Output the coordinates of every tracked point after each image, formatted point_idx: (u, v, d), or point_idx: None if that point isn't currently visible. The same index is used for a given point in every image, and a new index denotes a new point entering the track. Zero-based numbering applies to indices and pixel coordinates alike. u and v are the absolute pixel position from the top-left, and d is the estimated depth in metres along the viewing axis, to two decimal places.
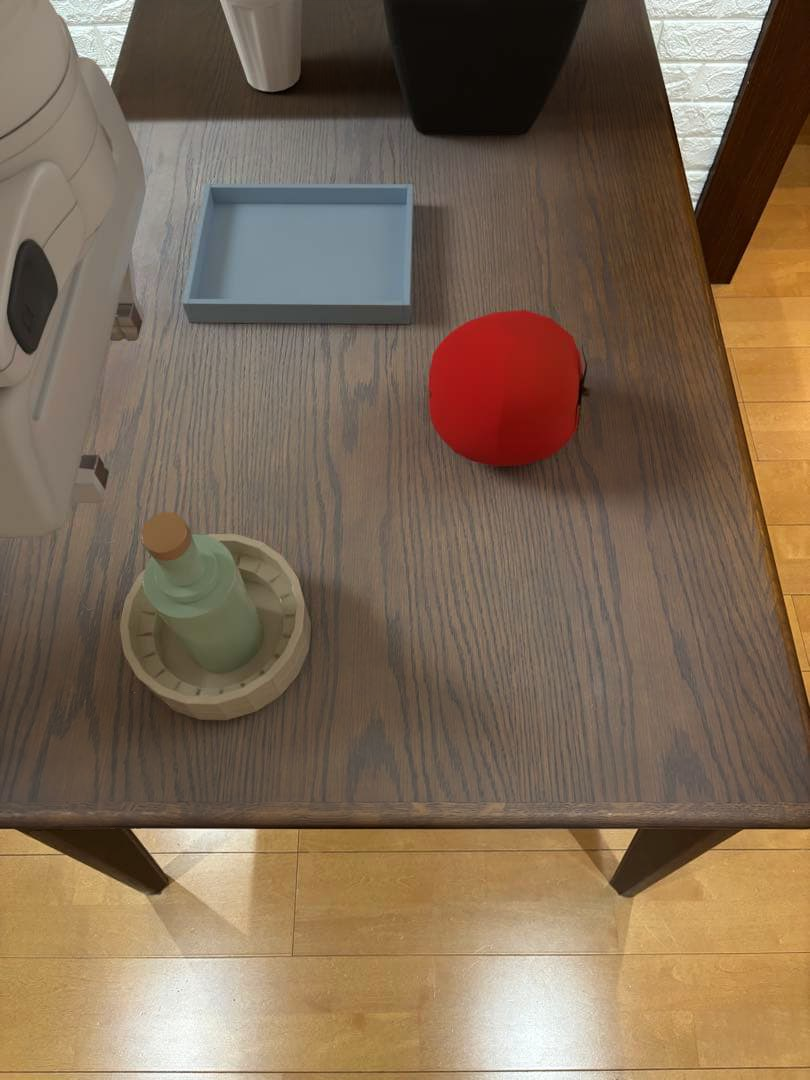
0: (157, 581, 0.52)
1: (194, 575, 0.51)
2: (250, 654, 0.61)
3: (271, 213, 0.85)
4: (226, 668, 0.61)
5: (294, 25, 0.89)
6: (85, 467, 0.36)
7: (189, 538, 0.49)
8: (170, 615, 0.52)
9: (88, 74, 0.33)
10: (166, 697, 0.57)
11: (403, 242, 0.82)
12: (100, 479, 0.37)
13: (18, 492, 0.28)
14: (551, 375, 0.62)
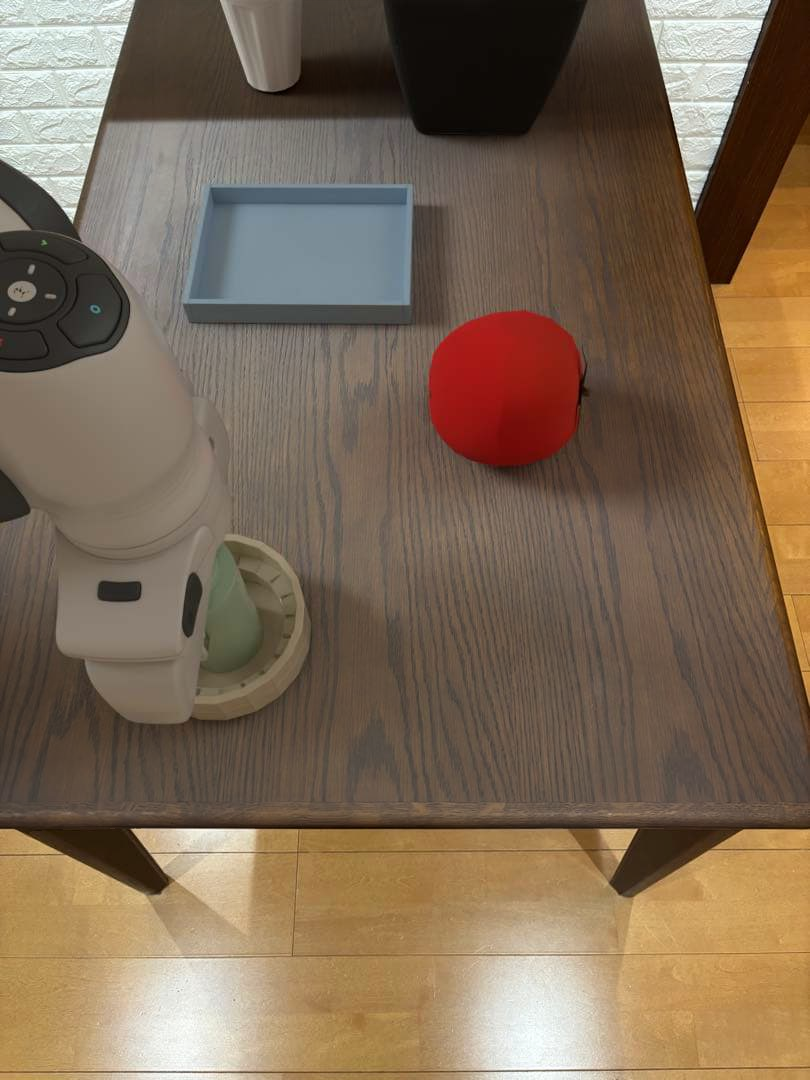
0: None
1: None
2: (250, 654, 0.61)
3: (271, 213, 0.85)
4: (226, 668, 0.61)
5: (294, 25, 0.89)
6: None
7: None
8: None
9: (204, 412, 0.50)
10: None
11: (403, 242, 0.82)
12: (206, 647, 0.55)
13: (174, 706, 0.45)
14: (551, 376, 0.62)
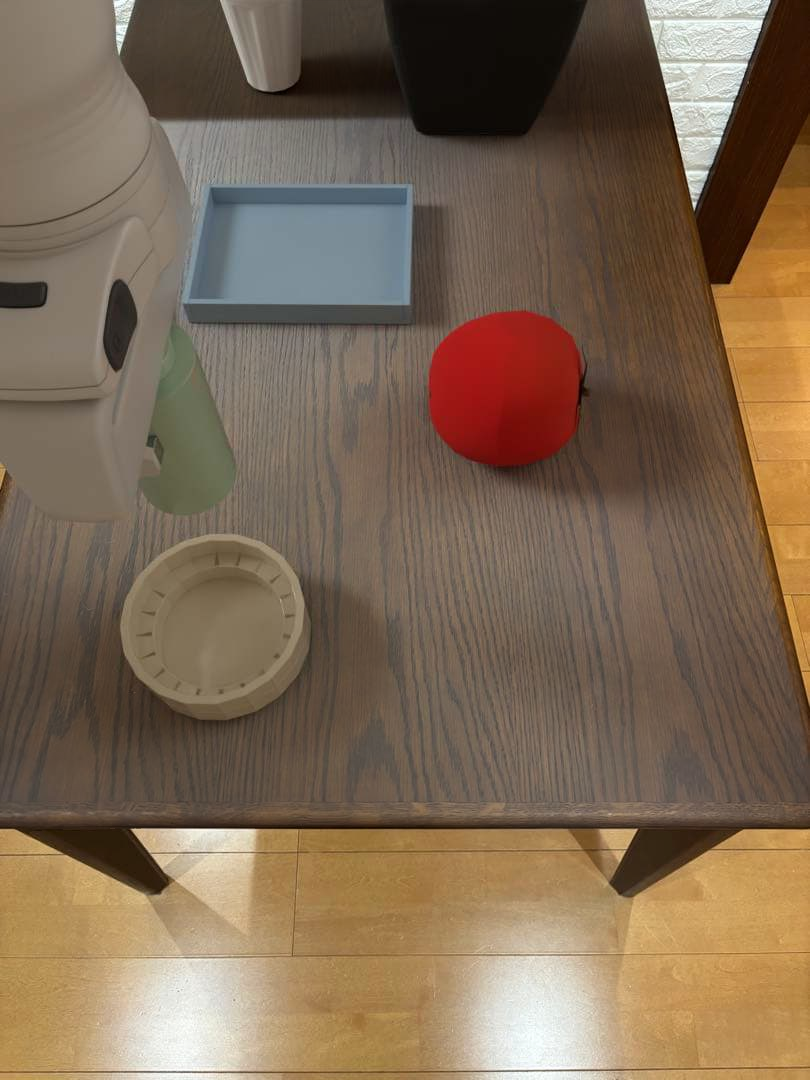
0: None
1: None
2: (218, 493, 0.50)
3: (271, 213, 0.85)
4: (189, 508, 0.50)
5: (294, 25, 0.89)
6: (146, 446, 0.43)
7: None
8: None
9: None
10: (166, 697, 0.57)
11: (403, 242, 0.82)
12: (158, 456, 0.43)
13: (100, 483, 0.34)
14: (551, 376, 0.62)
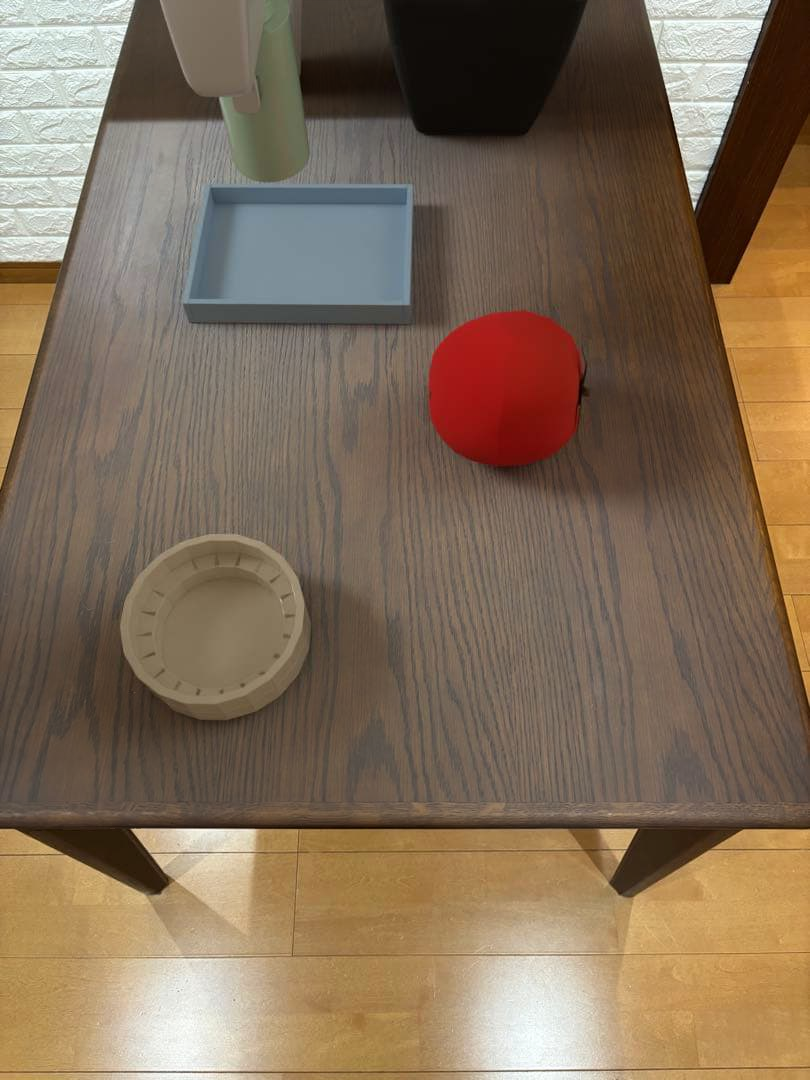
0: None
1: None
2: (297, 162, 0.63)
3: (271, 213, 0.85)
4: (275, 172, 0.62)
5: (294, 25, 0.89)
6: None
7: None
8: None
9: None
10: (166, 697, 0.57)
11: (403, 242, 0.82)
12: (259, 93, 0.56)
13: (236, 40, 0.46)
14: (551, 375, 0.62)
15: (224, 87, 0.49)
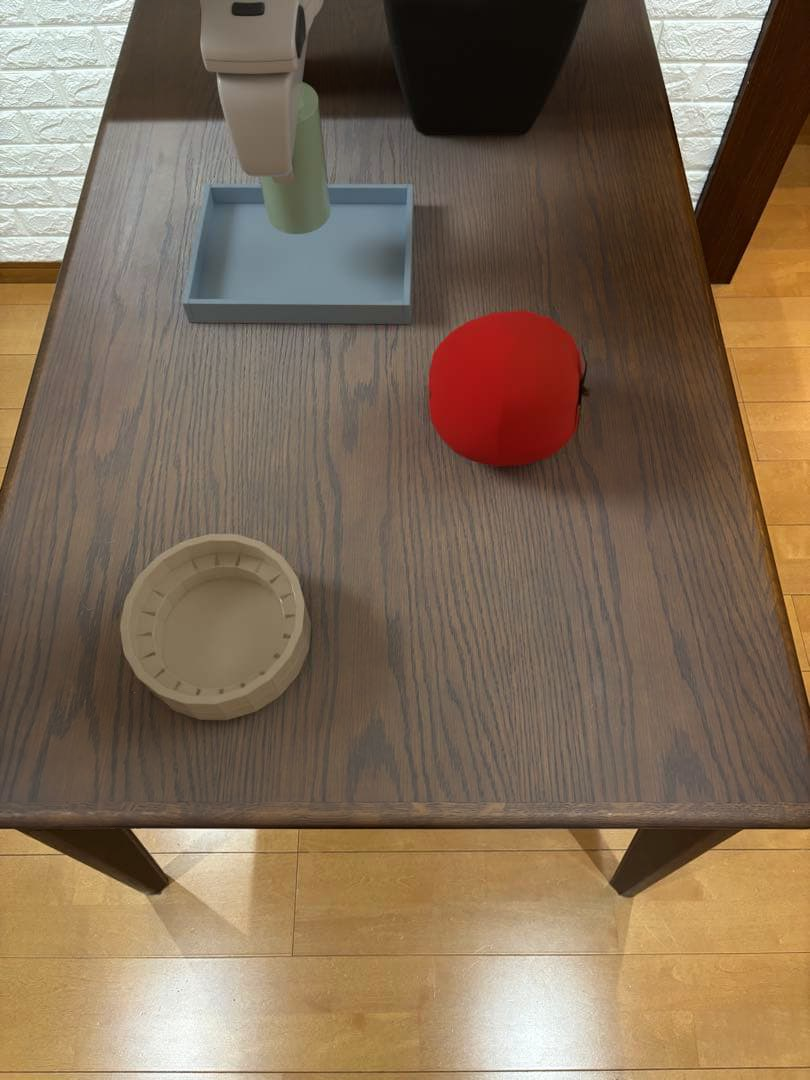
0: None
1: None
2: (321, 217, 0.75)
3: None
4: (302, 226, 0.75)
5: None
6: None
7: None
8: None
9: None
10: (166, 697, 0.57)
11: (403, 242, 0.82)
12: (292, 167, 0.68)
13: (281, 136, 0.59)
14: (551, 376, 0.62)
15: (269, 170, 0.61)
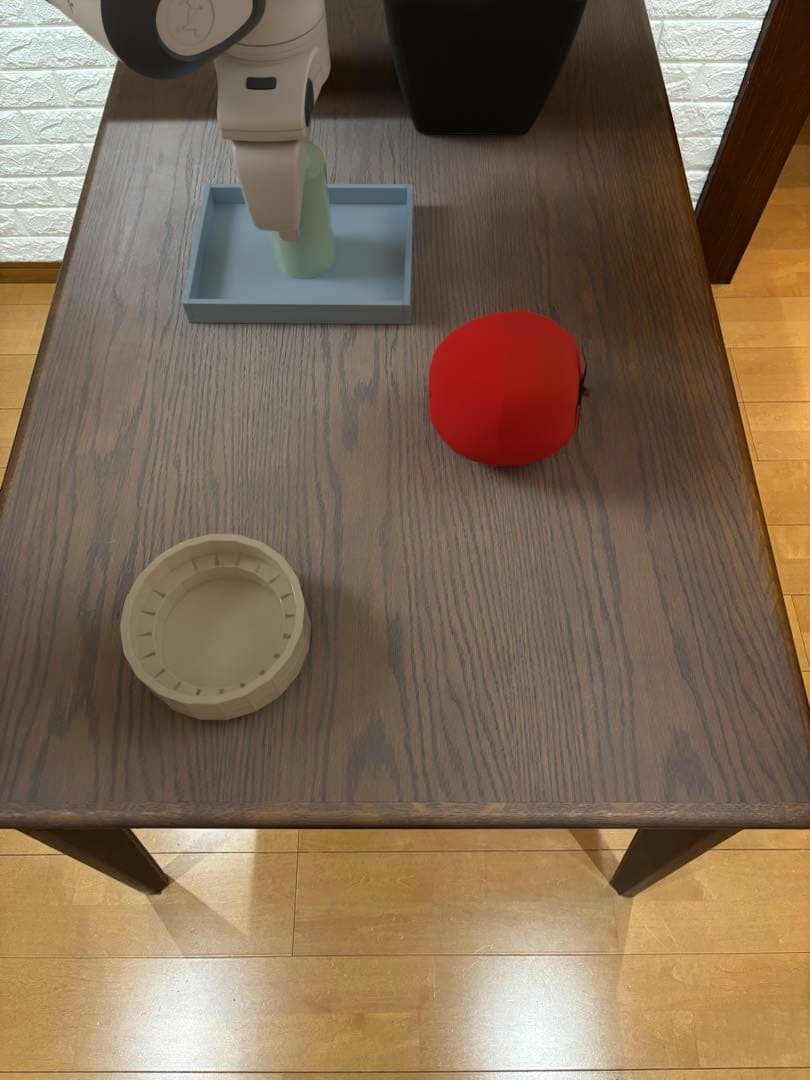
0: None
1: None
2: (327, 263, 0.80)
3: None
4: (309, 271, 0.80)
5: None
6: None
7: None
8: None
9: None
10: (166, 697, 0.57)
11: (403, 242, 0.82)
12: (299, 226, 0.72)
13: (291, 197, 0.63)
14: (551, 375, 0.62)
15: (280, 226, 0.66)
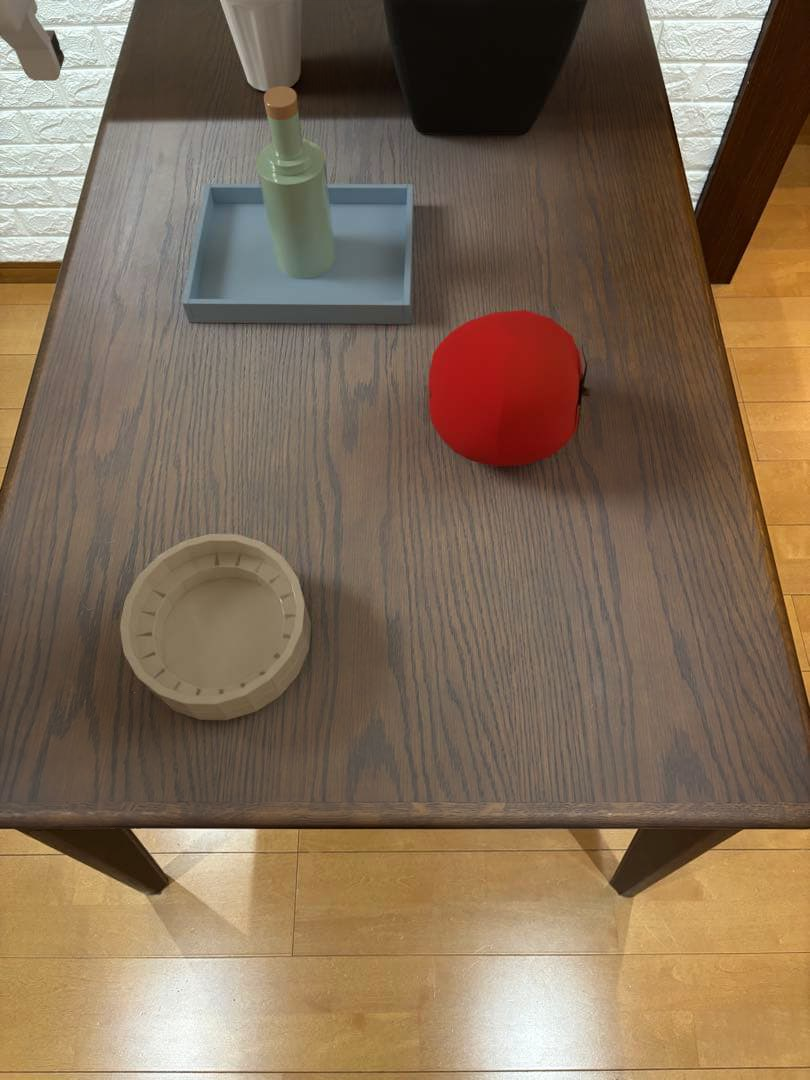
0: (268, 157, 0.71)
1: (297, 148, 0.70)
2: (327, 263, 0.80)
3: None
4: (309, 271, 0.80)
5: (294, 25, 0.89)
6: None
7: (297, 104, 0.67)
8: (278, 182, 0.71)
9: None
10: (166, 697, 0.57)
11: (403, 242, 0.82)
12: (56, 53, 0.42)
13: None
14: (551, 375, 0.62)
15: None
